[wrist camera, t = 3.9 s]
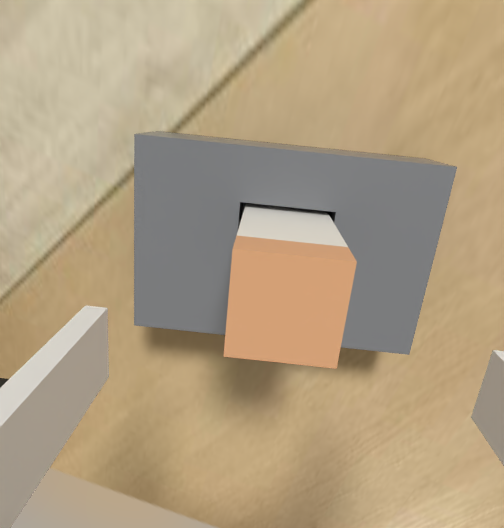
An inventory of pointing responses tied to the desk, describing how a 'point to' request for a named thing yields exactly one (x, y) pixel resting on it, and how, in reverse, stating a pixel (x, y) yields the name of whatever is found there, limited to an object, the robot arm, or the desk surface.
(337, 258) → the plug
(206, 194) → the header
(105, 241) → the desk surface
